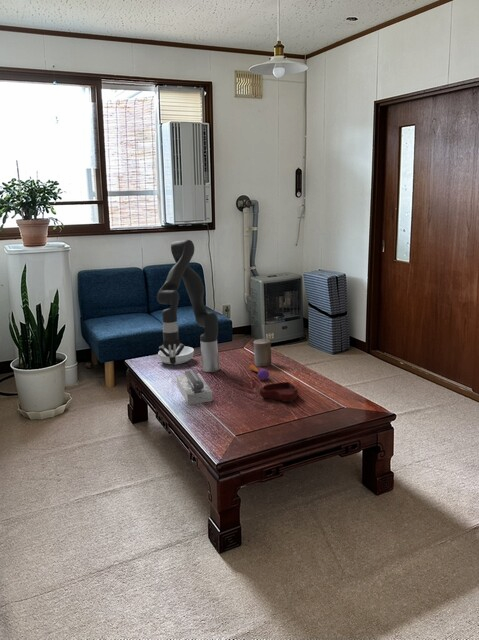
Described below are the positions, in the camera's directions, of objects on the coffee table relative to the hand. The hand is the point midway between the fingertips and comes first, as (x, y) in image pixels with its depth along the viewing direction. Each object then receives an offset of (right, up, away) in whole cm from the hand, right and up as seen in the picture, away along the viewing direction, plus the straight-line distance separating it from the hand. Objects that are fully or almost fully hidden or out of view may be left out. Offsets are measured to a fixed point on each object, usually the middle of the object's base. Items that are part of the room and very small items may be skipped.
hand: (172, 363), depth 277 cm
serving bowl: (-4, -3, +51) cm, 51 cm away
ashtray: (+53, -15, -9) cm, 56 cm away
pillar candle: (+46, -3, +40) cm, 61 cm away
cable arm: (+11, -8, -4) cm, 14 cm away
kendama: (+44, -8, +22) cm, 49 cm away
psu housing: (+10, -14, +1) cm, 18 cm away
